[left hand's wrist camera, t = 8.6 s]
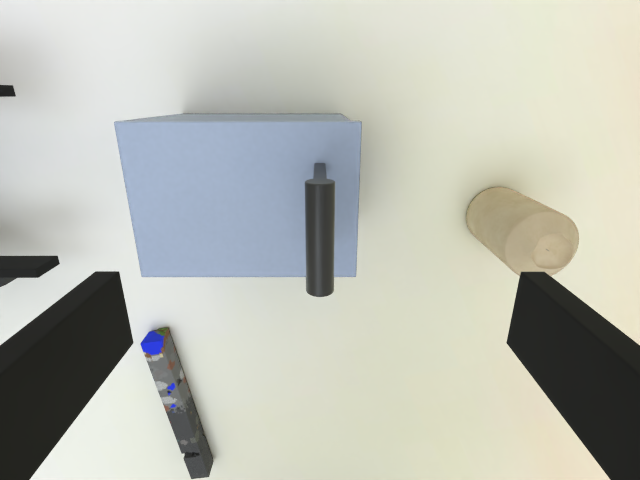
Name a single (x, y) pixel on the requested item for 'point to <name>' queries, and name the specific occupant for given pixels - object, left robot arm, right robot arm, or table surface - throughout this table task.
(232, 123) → the lid
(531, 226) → the candle
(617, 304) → the table surface
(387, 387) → the table surface
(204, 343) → the table surface
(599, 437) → the left robot arm
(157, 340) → the pillar
